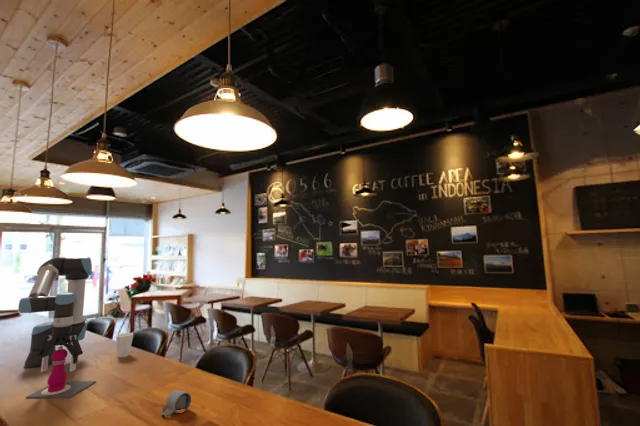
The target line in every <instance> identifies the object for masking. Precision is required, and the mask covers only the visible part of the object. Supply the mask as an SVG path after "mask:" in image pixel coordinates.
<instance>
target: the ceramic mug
mask: <svg viewBox="0 0 640 426" xmlns="http://www.w3.org/2000/svg"><path fill="white" fill-rule="evenodd" d="M191 403H192V396H191V394H190V393H189V392H186V391H183V390H179V389H175V390H172V392H170V393H169V394H168V396H167V398H166V404H165V406H163V407H162V408H161V410H160V413H161V416H162V415H164V416H166V417H168V416H167V415H169V416H170V415H172V414H173V413H175V414H178V413H179V412H177V411H176V410H181V409H185V410H186V411H187V410H189V408H190V406H191ZM167 409H170V410H167ZM166 410H167V412H166Z"/></svg>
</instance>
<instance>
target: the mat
mask: <svg viewBox="0 0 640 426" xmlns="http://www.w3.org/2000/svg"><path fill="white" fill-rule="evenodd" d="M96 383H97V381H96V380H95V381H91V380H85V381H84V380H81V381H78V380H76V381H70V380H68V381H67V380H66V381H65V382H64V384H65V388H64V389H62V390H60V391H57V392H48V387H49V385H47V386H45V387H43V388H40V389H39V390H37V391H35V392H33V393H32V394H31V393H30V394H29V395H27V396H25V399H71V398H72V397H75V396H76V395H77V394H79V393H81V392H83V391H84V390H86V389H87V388H90V386H92V385H94V384H96ZM70 397H71V398H70Z"/></svg>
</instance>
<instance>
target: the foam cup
mask: <svg viewBox="0 0 640 426" xmlns="http://www.w3.org/2000/svg"><path fill="white" fill-rule="evenodd" d="M133 338H134V333H133V332H125V333H118V334H117V335H116V349H117V350H116V351H117V357H118V358H126V357H128V356H130V353H131V348H132V343H133Z"/></svg>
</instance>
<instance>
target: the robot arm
mask: <svg viewBox="0 0 640 426" xmlns="http://www.w3.org/2000/svg"><path fill="white" fill-rule="evenodd" d="M92 264H93V263H92V258H91V257H89V256H81V255H79V256H77V255H76V256H74V255H72V256H56V257H54V258H51V259H47V261H45V262H44V263H42V265H40V266H39V268H37V272H36V275H37V278H36V279H35V281H34V283H33V286H32V288H31V290H30V292H29V294H28V296H27V297H22V298H21V299H20V300H19V302H18V312H19V313H20V314H33V313H42V312H43V313H45V312H54V313H53V320H52V321H48V322H43V323H40V324H37V325H35V326H34V327H33V328H32V331H31V340H30V348H29V352H28V355H27V357H26V359H25V361H24V365H23V366H24V368H31V369H33V368H40V367H41V368H40V372H41V373H43V372H45V371H47V370H48V366H50V365H53V364H52V363H53V362H52V361H54V360H53V359H52V354H53V352H55V351H56V350H57V348H56V347H57V346H58V347H60V346H62V347H65V348H66V350H67V352H69V353H70V354H71V357H70V364H69V372H73V371H75V370H76V366H77V363H78V360H79V356H81V355H83V349H82V347H81V345H80V341H83V340H84V339H85V337H86V332H87V329H88V323H89V321H88V320H86V317H85V316H84V308H85V307H84V304H85V294H86V293H85V292H86V291H85V288H86V280H88V279H89V277H90V276H92V273H93V267H92ZM61 276H62V277H65V280H66V281H67V292H62V293H58V294H56V295H49V294H50V293H51V292H50V291H51V289H52V287H53V283H54V282H55V279H56V278H57V277H61Z"/></svg>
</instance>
